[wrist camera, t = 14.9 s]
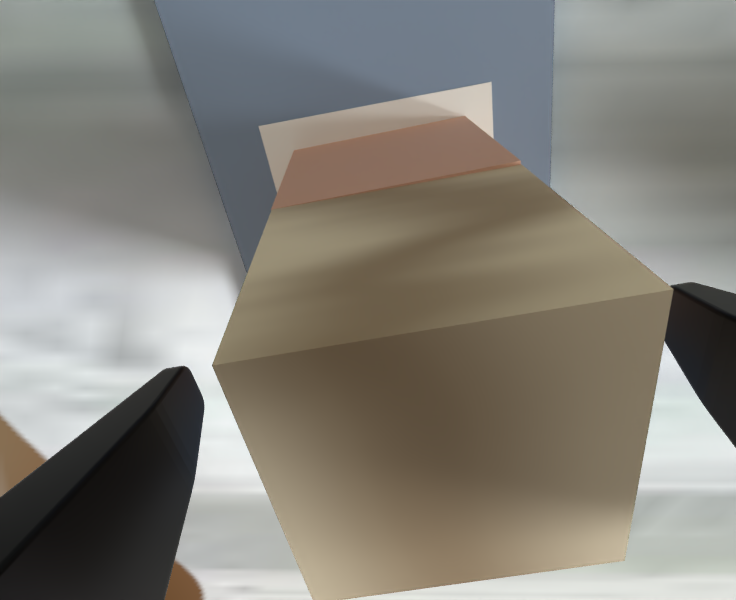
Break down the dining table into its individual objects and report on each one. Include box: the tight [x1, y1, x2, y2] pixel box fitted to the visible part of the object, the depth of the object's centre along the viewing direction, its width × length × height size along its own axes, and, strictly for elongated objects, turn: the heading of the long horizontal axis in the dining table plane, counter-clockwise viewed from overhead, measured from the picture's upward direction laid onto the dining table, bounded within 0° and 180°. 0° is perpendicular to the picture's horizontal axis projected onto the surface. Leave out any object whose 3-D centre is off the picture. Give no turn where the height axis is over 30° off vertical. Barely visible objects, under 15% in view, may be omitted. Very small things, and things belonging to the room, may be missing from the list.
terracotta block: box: [271, 116, 521, 210], centre depth 13 cm, size 5×5×5 cm
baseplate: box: [154, 0, 555, 273], centre depth 15 cm, size 10×30×1 cm, turn 10°
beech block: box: [212, 164, 674, 600], centre depth 9 cm, size 5×5×5 cm
